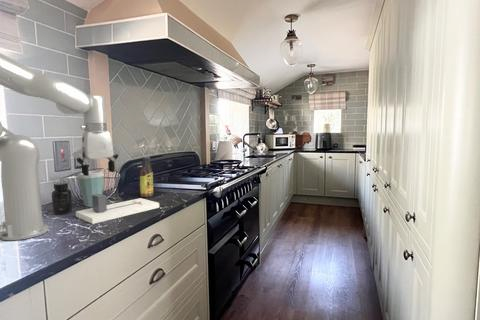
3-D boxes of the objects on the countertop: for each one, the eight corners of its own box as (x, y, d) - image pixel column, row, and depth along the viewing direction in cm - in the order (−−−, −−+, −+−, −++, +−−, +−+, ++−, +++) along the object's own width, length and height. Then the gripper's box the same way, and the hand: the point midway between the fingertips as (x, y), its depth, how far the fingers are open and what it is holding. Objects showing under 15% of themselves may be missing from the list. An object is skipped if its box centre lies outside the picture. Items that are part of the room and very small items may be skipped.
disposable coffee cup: (87, 209, 122) (85, 174, 120) (73, 205, 128) (71, 172, 126) (110, 203, 131) (109, 171, 129) (96, 200, 136) (95, 169, 135)
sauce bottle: (149, 197, 142) (147, 157, 140) (137, 197, 143) (136, 157, 141) (155, 194, 148) (154, 156, 146) (144, 194, 150) (143, 156, 148)
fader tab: (99, 212, 109) (98, 196, 108) (92, 210, 112) (92, 195, 111) (106, 210, 111) (106, 195, 111) (100, 208, 114) (99, 193, 114)
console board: (92, 223, 103) (92, 218, 103) (76, 216, 112) (75, 211, 111) (159, 207, 124) (159, 202, 124) (141, 202, 133) (140, 197, 133)
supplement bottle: (55, 211, 119) (53, 182, 118) (74, 209, 122) (72, 181, 120) (50, 215, 113) (48, 185, 112) (70, 214, 115) (68, 184, 114)
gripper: (75, 128, 100) (79, 177, 102) (122, 127, 113) (125, 171, 115) (66, 128, 104) (70, 175, 106) (113, 128, 118) (115, 169, 120)
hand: (99, 173), depth 111 cm, fingers open, 9 cm apart
